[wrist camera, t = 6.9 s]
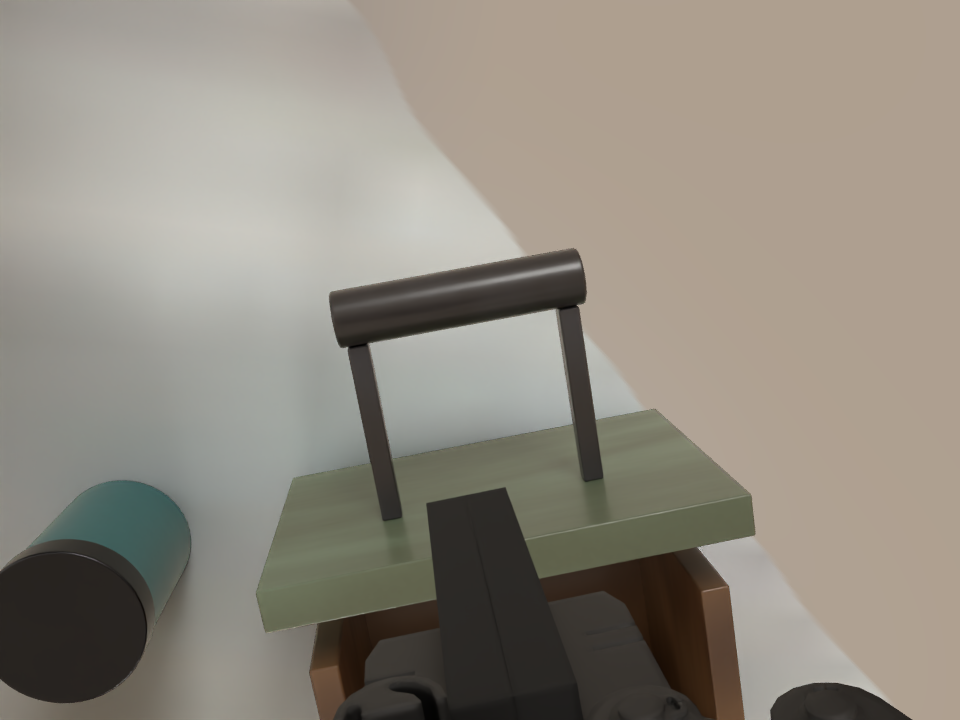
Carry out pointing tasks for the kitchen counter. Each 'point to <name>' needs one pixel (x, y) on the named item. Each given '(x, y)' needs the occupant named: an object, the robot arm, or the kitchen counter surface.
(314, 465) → the kitchen counter surface
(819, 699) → the robot arm
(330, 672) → the drawer
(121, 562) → the tin
